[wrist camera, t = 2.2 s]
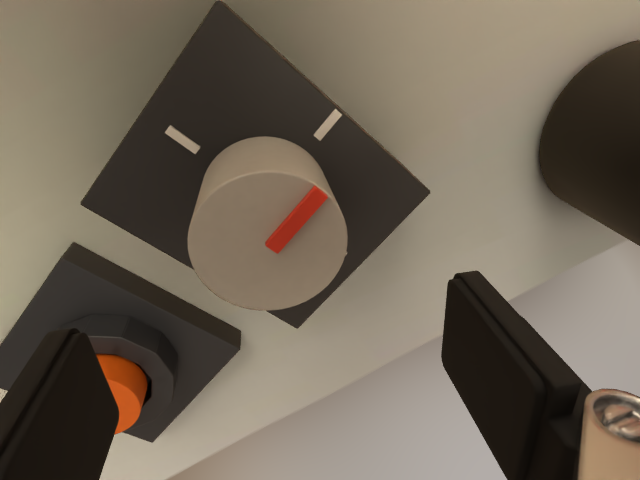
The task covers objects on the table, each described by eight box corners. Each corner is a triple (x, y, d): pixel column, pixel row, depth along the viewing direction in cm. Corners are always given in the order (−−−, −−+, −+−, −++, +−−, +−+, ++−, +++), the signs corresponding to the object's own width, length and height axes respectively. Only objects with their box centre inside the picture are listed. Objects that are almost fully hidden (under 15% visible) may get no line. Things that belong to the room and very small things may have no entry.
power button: (47, 392, 23) (33, 418, 21) (87, 341, 22) (75, 365, 20) (122, 419, 25) (114, 446, 23) (162, 374, 24) (156, 399, 22)
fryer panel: (107, 173, 21) (77, 206, 17) (223, 2, 18) (217, -2, 15) (290, 287, 26) (297, 331, 22) (404, 166, 23) (433, 193, 19)
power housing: (-8, 358, 25) (-44, 405, 22) (73, 241, 22) (45, 277, 19) (157, 421, 30) (146, 468, 26) (241, 330, 27) (240, 371, 24)
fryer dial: (276, 272, 20) (282, 338, 16) (175, 209, 18) (152, 267, 14) (352, 188, 19) (382, 236, 15) (253, 107, 17) (253, 137, 12)
